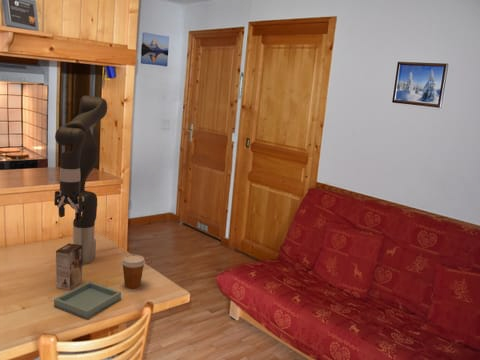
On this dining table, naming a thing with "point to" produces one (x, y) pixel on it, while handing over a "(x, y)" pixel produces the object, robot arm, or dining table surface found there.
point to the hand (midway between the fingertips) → (69, 218)
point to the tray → (87, 300)
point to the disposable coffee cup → (133, 270)
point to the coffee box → (68, 266)
